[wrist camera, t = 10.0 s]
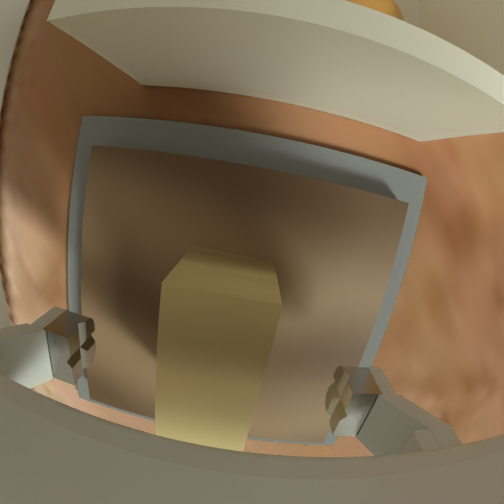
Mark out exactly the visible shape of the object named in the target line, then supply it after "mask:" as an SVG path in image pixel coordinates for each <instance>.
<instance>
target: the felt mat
mask: <svg viewBox="0 0 504 504" xmlns="http://www.w3.org/2000/svg"><path fill="white" fill-rule="evenodd" d="M92 145H98V146H110V147H121V148H132V149H141V150H150V151H158V152H166V153H174V154H181V155H189V156H196V157H202V158H209V159H215V160H221V161H227V162H233V163H239V164H245V165H250V166H256V167H261V168H266V169H271V170H276V171H281V172H286V173H291V174H296V175H300V176H305V177H309V178H314V179H318V180H323V181H327V182H331V183H335V184H340V185H344V186H348V187H352V188H356V189H360V190H363V191H367V192H371V193H375V194H378V195H382V196H386V197H389V198H393V199H396V200H400V201H403V202H407V203H409V205H408V209H407V214H406V218H405V222H404V227H403V231H402V235H401V239H400V243H399V246H398V250H397V254H396V257H395V261H394V265H393V268H392V271H391V275H390V278H389V282H388V285H387V288H386V291H385V294H384V297H383V301H382V304H381V307H380V310H379V313H378V315H377V318H376V321H375V324H374V327H373V330H372V332H371V335H370V338H369V341H368V343H367V346H366V348H365V351H364V354H363V356H362V359H361V361H360V364H359V366H358V367H371V366H372V363H373V361H374V358H375V356H376V354H377V351H378V349H379V346H380V343H381V341H382V338H383V336H384V333H385V330H386V328H387V325H388V322H389V319H390V317H391V314H392V311H393V308H394V305H395V302H396V299H397V296H398V293H399V290H400V287H401V284H402V280H403V277H404V274H405V270H406V267H407V263H408V260H409V256H410V253H411V249H412V245H413V241H414V238H415V234H416V230H417V225H418V221H419V217H420V213H421V208H422V203H423V199H424V194H425V189H426V183H427V178H426V177H423V176H420V175H417V174H414V173H411V172H408V171H405V170H402V169H399V168H396V167H393V166H390V165H386V164H383V163H380V162H376V161H373V160H370V159H366V158H363V157H359V156H355V155H352V154H348V153H344V152H340V151H336V150H332V149H328V148H324V147H320V146H316V145H312V144H307V143H303V142H298V141H294V140H289V139H284V138H279V137H274V136H269V135H264V134H259V133H253V132H247V131H242V130H236V129H229V128H223V127H216V126H209V125H201V124H194V123H185V122H176V121H167V120H156V119H144V118H130V117H112V116H82V121H81V126H80V132H79V138H78V143H77V150H76V156H75V163H74V171H73V179H72V189H71V199H70V212H69V229H68V304H69V311H71V312H74V313H77V314H80V315H82V308H81V250H82V229H83V214H84V203H85V193H86V184H87V176H88V168H89V161H90V154H91V148H92ZM77 388H78V394H79V397H80V398H83V399H85V400H88V401H91V402H94V403H97V404H99V405H102V406H105V407H108V408H111V409H115V410H118V411H121V412H124V413H128V414H131V415H134V416H138V417H141V418H145V419H149V420H153V421H155V419H154V418H150V417H146V416H142V415H139V414H135V413H132V412H128V411H125V410H122V409H119V408H115V407H112V406H109V405H106V404H103V403H100V402H97V401H95V400H92V399H90V395H89V388H88V381H87V373H86V368H83V375H82V376H81V377H80V379H79V380H78V381H77ZM337 437H338V436H336V435H332V431H331V428H330V430H329V432H328V434H327V436H326V438H325V440H324V442H323V443H316V442H296V441H283V440H272V439H262V438H254V437H247V439H252V440H261V441H270V442H281V443H295V444H314V445H334V443H335V441H336V439H337Z"/></svg>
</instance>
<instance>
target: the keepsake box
mask: <svg viewBox="0 0 504 504" xmlns="http://www.w3.org/2000/svg"><path fill="white" fill-rule="evenodd" d="M394 1H395V2H396V4H397V5H398V7H399V8H400V10H401V12H402V15H403V18H404V21H402V20H400V19H397V18H395V17H392V16H390V15H387V14H385V13H382V12H379V11H376V10H373V9H371V8H368V7H365V6H362V5H359V4H355V3H352V2H349V1H345V0H55V2H54V4H53V7H52V9H51V12H50V14H49V16H48V19H47V21H48V22H49V23H51V24H53V25H54V26H56V27H57V28H59V29H61V30H62V31H64V32H65V33H67V34H68V35H70V36H72V37H73V38H75V39H76V40H78V41H79V42H81V43H82V44H84V45H85V46H87V47H88V48H90V49H91V50H93V51H94V52H96V53H97V54H99V55H100V56H102V57H103V58H105V59H106V60H107V61H109V62H110V63H112V64H113V65H115V66H116V67H118V68H119V69H120V70H122V71H123V72H125V73H126V74H127V75H129V76H130V77H132V78H133V79H134V80H136V81H137V82H139V83H140V84H141V85H148V86H166V87H179V88H190V89H200V90H209V91H217V92H225V93H232V94H239V95H245V96H251V97H257V98H263V99H268V100H274V101H279V102H284V103H289V104H293V105H298V106H302V107H307V108H311V109H315V110H319V111H323V112H327V113H331V114H335V115H339V116H342V117H346V118H350V119H353V120H356V121H360V122H363V123H367V124H370V125H373V126H376V127H379V128H382V129H385V130H388V131H391V132H394V133H397V134H400V135H403V136H406V137H408V138H411V139H414V140H417V141H419V142H423V141H430V140H437V139H444V138H452V137H460V136H469V135H478V134H488V133H498V132H504V0H394Z"/></svg>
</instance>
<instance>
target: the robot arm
mask: <svg viewBox="0 0 504 504" xmlns="http://www.w3.org/2000/svg"><path fill="white" fill-rule="evenodd" d="M94 331H95V325H94V321H93V319H92V318H90V317H86V316H83V315H80V314H77V313H74V312H71V311H68V310H66V309H62V308H59V307H53V308H52V309H51V310H49V311H48V312H47V313H45V314H44V315H43V316H41V317H40V318H39V319H37V320H36V321H35V322H33V323H32V324H31V325H30V324H28V323H27V324H21V325H16V326H10V327H5V328H0V504H504V434H503V435H499V436H495V437H492V438H488V439H484V440H480V441H476V442H471V443H467V444H462V442H461V441H460V439H459V438H458V436H457V435H456V433H455V431H454V430H453V428H452V427H451V425H449V424H447V423H445V422H444V421H442V420H440V419H439V418H437V417H435V416H434V415H432V414H430V413H429V412H427V411H426V410H424V409H422V408H421V407H419V406H417V405H416V404H414V403H412V402H411V401H409V400H408V399H406V398H404V397H403V396H401V395H396V393H395V391H394V390H393V388H392V386H391V385H390V383H389V381H388V379H387V378H386V376H385V374H384V373H383V371H382V369H380V368H373V367H349V366H338V367H337V369H336V370H335V373H334V375H333V377H334V380H335V382H334V383H333V384H332V385H330V386H329V388H328V391H327V393H326V399H325V408H326V412H327V413H328V414H329V415H330V416H331V418H330V420H329V424H330V427H331V431H332V435H336V436H357V438H358V439H359V440H360V441H361V442H362V443H363V444H364V445H365V446H366V447H367V448H368V449H369V450H370V451H371V452H372V453H373V454H374V455H375V456H369V457H298V456H282V455H270V454H259V453H250V452H242V451H235V450H228V449H222V448H215V447H210V446H204V445H199V444H194V443H189V442H184V441H179V440H175V439H171V438H166V437H162V436H158V435H154V434H151V433H147V432H143V431H140V430H136V429H133V428H129V427H126V426H123V425H120V424H117V423H113V422H110V421H107V420H105V419H102V418H99V417H96V416H93V415H90V414H88V413H85V412H82V411H80V410H77V409H75V408H72V407H70V406H67V405H65V404H62V403H60V402H58V401H55V400H53V399H51V398H49V397H46V396H44V395H42V394H40V393H38V392H36V391H33V390H31V388H33V387H35V386H37V385H40V384H42V383H44V382H47V381H49V380H51V379H53V377H54V378H56V379H59V380H62V381H65V382H67V383H70V384H73V385H75V384H76V382H77V381H78V380H79V379H80V377H81V376H82V375H83V368H86V367H89V366H90V364H91V363H92V362H93V359H94V356H95V351H96V342H95V340H94V338H93V337H92V333H93V332H94Z"/></svg>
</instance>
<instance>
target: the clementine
mask: <svg viewBox="0 0 504 504" xmlns="http://www.w3.org/2000/svg"><path fill="white" fill-rule="evenodd" d="M345 1H349V2H352V3H355V4H359V5H362V6H365V7H368V8H371V9H373V10H376V11H379V12H382V13H385V14H387V15H390V16H392V17H395V18H397V19H400V20H402V21H404V18H403V15H402V12H401V10H400V8H399V7H398V5H397V4H396V2H395V1H394V0H345Z"/></svg>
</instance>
